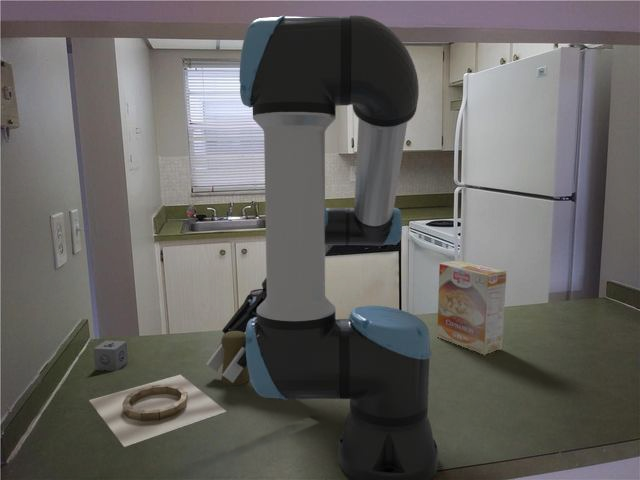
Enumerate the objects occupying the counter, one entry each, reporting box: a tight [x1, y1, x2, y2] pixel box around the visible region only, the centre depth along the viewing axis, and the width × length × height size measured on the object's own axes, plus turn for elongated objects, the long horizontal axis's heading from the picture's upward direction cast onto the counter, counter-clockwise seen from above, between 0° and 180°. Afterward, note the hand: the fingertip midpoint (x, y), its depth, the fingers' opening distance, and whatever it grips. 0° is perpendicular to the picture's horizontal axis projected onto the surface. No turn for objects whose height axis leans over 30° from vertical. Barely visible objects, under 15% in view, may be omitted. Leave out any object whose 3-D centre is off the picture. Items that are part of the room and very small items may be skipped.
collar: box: [122, 384, 188, 421], centre depth 94 cm, size 11×11×2 cm
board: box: [88, 374, 228, 448], centre depth 94 cm, size 20×18×1 cm
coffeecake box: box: [436, 259, 507, 355], centre depth 126 cm, size 15×7×20 cm, turn 33°
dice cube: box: [93, 340, 129, 372], centre depth 115 cm, size 5×5×5 cm
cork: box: [220, 331, 250, 386], centre depth 105 cm, size 6×6×11 cm
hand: (219, 373), depth 103 cm, fingers open, 6 cm apart
